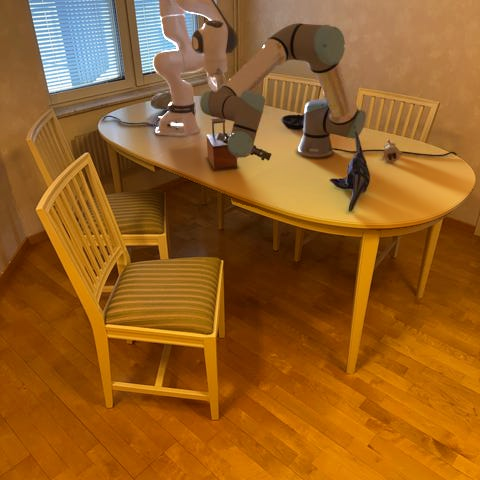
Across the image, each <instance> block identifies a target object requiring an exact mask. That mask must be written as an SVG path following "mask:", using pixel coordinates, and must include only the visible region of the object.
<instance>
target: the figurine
mask: <svg viewBox="0 0 480 480" xmlns="http://www.w3.org/2000/svg"><path fill="white" fill-rule="evenodd" d="M383 149H384V150H385V151H383V155H382V156H381V160H383V161H386V163H395V162H397V161H398V160H400V157H401V156H402V155H403V154H404V153H402V152H401V151H402V150H400V149H399V148H398V147H397V146H396V143H395V142H394V143H393V142H391V140H390V139H389V138H387V143H386V144H385V145H384V146H383Z"/></svg>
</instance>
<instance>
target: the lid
mask: <svg viewBox="0 0 480 480" xmlns="http://www.w3.org/2000/svg"><path fill="white" fill-rule="evenodd" d="M210 123H211V131H212V132H211V133H212V134H205V137H206V140H207V139H208V141H209V143H210V144H211V146H212V148H213V149H220V148H228V145H227V144H226V143H223V142H222V141H220V140H219V141H218V140H217V137H218V135H219V133H215V124H222V133H221V132H220V133H221V134H223V135H224V134H225V133H226V134H227V136H229V137H230V135H231V133H229V132H226V119H221V118H217V117H215V118H211V119H210Z"/></svg>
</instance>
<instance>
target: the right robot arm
mask: <svg viewBox="0 0 480 480" xmlns="http://www.w3.org/2000/svg"><path fill="white" fill-rule="evenodd" d="M345 45H346V41H345V36H344V34H343V32H342V31H341V29H340V28H338V27H336V26H333V25H330V24H310V23H301V22H297V23H292V24H289V25H286V26H285V27H283V28H281V29H279V30H278V31H276V32H274V33H273V34H272V35H271V36H270V37H268V38H267V39H266V40H265V41H264V42H263V45H262V48H261V49H260V50H259V51H258V52H257V53H256V54H255V55H253V56H252V57H251V58H250V59H249V60H248V61H247V62H246V63H244V65H242V67H241V68H239V69H238V70H237V71H236V72H235V73H234V74H233V75H232V76H231V77H230V78H229V79H228V80H226V83H225V84H224V85H223V86H221V88H219V89H218V90H217V91H216V92H214V91H212V90H207V91H205V92H204V93H203V94H202V96H201V97H200V101H199V105H200V109H201V111H202V112H203V113H204V114H205V115H207V116H210V117H212V118H221V119H225V121H226V120H227V121H230V122H233V124H232V128H231V132H230V137H229V136H227V134H226V133H227V132H225V134H224V135H223V134H221V132H218V134H219V135H218V137H217V140H218V141H219V140H220V141H222V142H223V143H226V144H227V145H228V150H229V151H230V153H231V154H232V155H233V156H236V158H237V159H239V158H240V159H241V158H247V157H249V156H253V155H254V156H257V157H258V158H259V159H260V158H261V159H260V160H261V161H265V160H266V161H270V159H271V157H272V156H273V155H272V153H271V152H268V151H266V150H263V149H262V148H258V147H257V145H255V141H256V137H257V132H258V130H259V126H260V123H261V119H262V116H263V113H264V108H265V103H266V98H265V96H263V94H260V93H257V92H254V91H252V90H254V89H255V87H257V86H258V85H259V84H260V83H261V82H263V80H264V79H265V78H266V77H267V76H268V75H269V74H270V73H271V72H272V71H273V70H274V69H276V67H277V66H283V65H284V64H285V63H286V62H288V61H292V60H293V61H301V62H306V64H307V66H308V69H309V71H310V72H312V73H313V74H316V78H317V80H318V82H319V86H320V87H321V90H322V93H323V95H324V98H319V99H312V100H309V101H308V102H307V101H306V104H305V105H304V111H303V114H304V128H303V129H302V131H303V133H302V137H301V140H300V142H299V144H298V148H297V153H298V154H299V156H301V157H303V158H307V159H314V160H315V159H326V158H329V157H330V156H332V155H333V151H338V152H339V151H340V152H344V153H348V154H357V152H356V150H354V151H353V150H346V149H343V148H335V147H333V145H332V141H331V135H334V136H339V137H342V138H347V139H352V140H355V134H354V132H355V131H356V132H357V133H358V136H360V135H361V134H362V131H363V129H364V127H365V124H366V120H367V113H366V112H365V111H364V110H362V109H359V108H358V105H357V103H356V102H355V101H354V100H353V99H351V97H350V94H349V91H348V87H347V84H346V82H345V81H346V80H345V77H344V75H343V74H344V73H343V72H342V71H343V70H342V68H341V66H340V65H341V64H340V63H341V60H342V59H343V56H344V54H345ZM362 151H363V153H365V152H384V151H385V149H362ZM400 151H401V152H402V153H403V154H406V155H407V154H408V155H415V156H425V157H445V156H448V155H451V154H453V155H454V156H458V154H457V153H456V152H455V151H449V152H446V153H443V154H432V153H420V152H411V151H402V150H400Z"/></svg>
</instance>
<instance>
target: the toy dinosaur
mask: <svg viewBox="0 0 480 480" xmlns="http://www.w3.org/2000/svg"><path fill="white" fill-rule="evenodd" d="M354 134H355V139H354V141H355V151H356V152H357V153H355V155H354V156H353V157H352V158H351V161H350V162H349V164H348V165H347V173H346V177H342V178H340V177H339V178H329V182H331V183H332V184H333V185H334V186H335V187H337V188H339V189H342V190H352V194H351V198H350V201H349V203H348V212H352V211H353V210H354V208H355V206H356V204H357V203H358V201H359V199H360V197H361V195H363V194H364V193H366V191H367V189H368V187H369V185H370V182H371V173H370V169H369V166H368V163H367V160H366V157H365V153H364V152H363V151H362V150H363V148H362V143H361V140H360V137H359V136H360V135H359V136H358V133H357V132H356V131H355V132H354Z"/></svg>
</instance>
